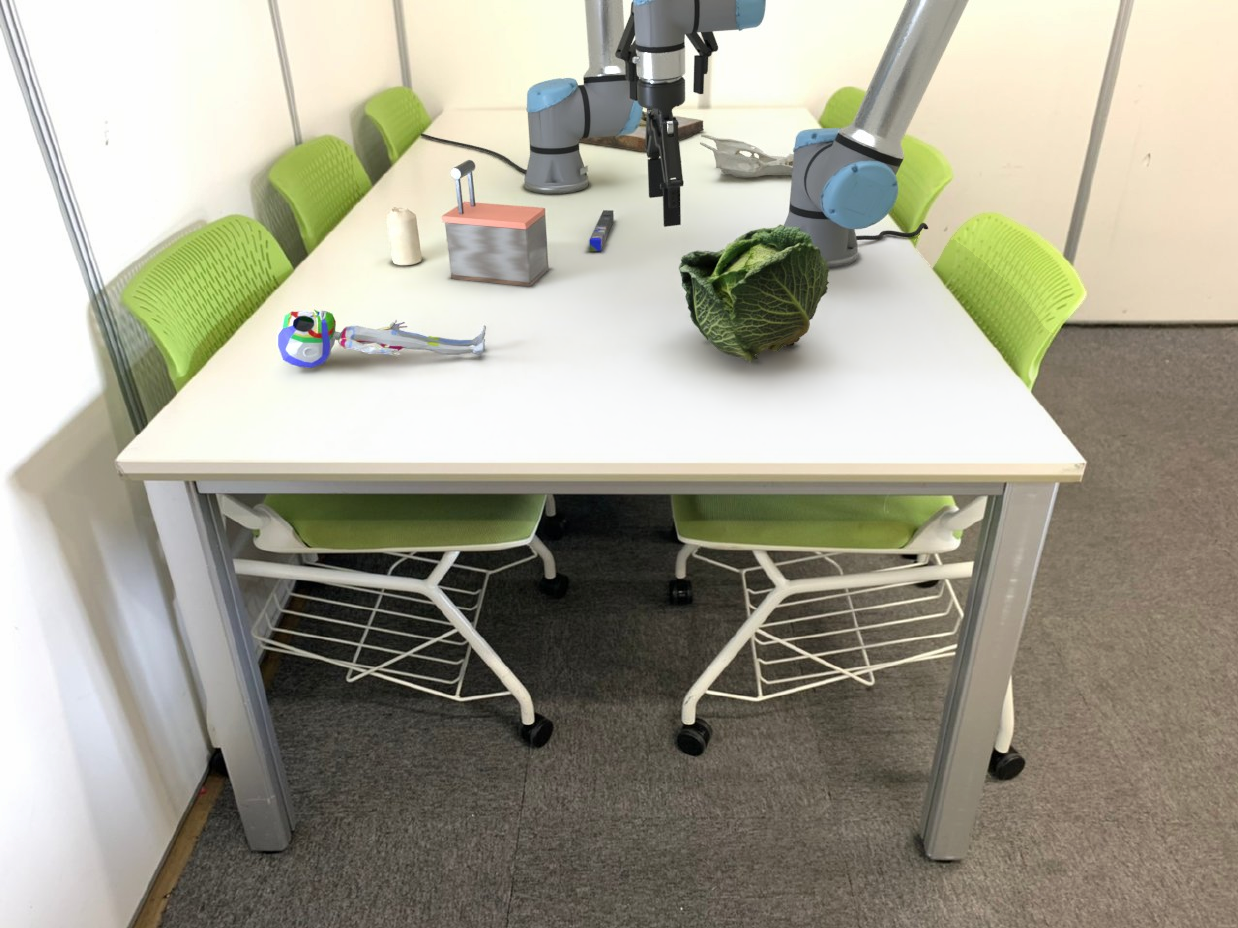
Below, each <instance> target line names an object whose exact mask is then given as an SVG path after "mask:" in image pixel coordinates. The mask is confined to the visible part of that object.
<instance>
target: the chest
mask: <svg viewBox="0 0 1238 928" xmlns="http://www.w3.org/2000/svg"><path fill="white" fill-rule="evenodd" d="M444 227H445V236H446V244H447V252H448V260H449V261H448V262H449V269H450V278H451V279H453V280H462V281H470V282H471V281H472V282H480V283H490V284H499V285H509V286H520V287H529V288H530V287H532V286H533V285H534V284H535V283H536V282H537V281H538V280H539V279H540V278H541V277H542V276H544V275H545V274H546V273H547V272H548V271H549V270H550V265H549V254H548V251H549V250H548V235H547V233H548V232H547V219H546V214H545V215H544V216H542V217H541V218H540V219H538V220H537V221H536V222H535V223H533V224H532V225H531V226H530V227H528V228H527V229H515V228H503V227H492V226H480V225H468V224H457V223H445V222H444Z"/></svg>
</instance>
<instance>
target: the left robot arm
mask: <svg viewBox="0 0 1238 928" xmlns="http://www.w3.org/2000/svg"><path fill="white" fill-rule="evenodd" d="M584 10H585V11H584V12H585V25H586V26H585V27H586V40H587V56H588V69H587V70H586V72H584V74H583V76H582V79H583V84H578V82H577V79H575V78H573V77H564V78H553V79H549V80H543V81H541V82H537V83H535V84H534V85H532V86H531V87H530V88H529V89H528V90H527V93H526V109H525V110H526V113H527V125H528V126H527V127H528V140H529V141H528V142H529V157H528V162H527V168H526V169H525V168H522V167H521V166H519V165H517V164H516V163H514V162H513V161H511V160H510V159H509V158H508V157H506V156H505V155H503V154H501V153H499V152H496V151H494V150H491V149H488V148H484V147H480V146H477V145H472V144H469V143H464V142H459V141H454V140H449V139H444V138H440V137H435V136H432V135H430V134H429V135H428V134H426V133H422V132H421V133H420V134H419V135H420V137H423V138H426V139H428V140H432V141H433V140H434V141H437V142H441V143H447V144H450V145H455V146H460V147H465V148H469V149H473V150H477V151H481V152H485V153H488V154H490V155H494V156H496V157H498V158H500V159H502V160H504V161H505V162H507V163H508V164H509V165H510V166H512V167H513V168H515V169H516V170H518V171H520V172H521V173H524V174H525V175H524V178H523V183H524V188H525V189H526V190H527V191H530V192H531V193H535V194H536V193H537V194H543V195H544V194H545V195H562V194H570V193H576V192H579V191H583V190H584V189H586V188H587V187H589V175H588V173H589V165H585V164H584V161H583V158H582V156H581V153H580V141H579V139H583V138H596V137H609V136H617V137H618V136H620V135H627V134H632V133H634V132H635V131H636V130H637V128H638V126H639V123H640V121H641V117H642V111H644V107H641V106H640V105H639V104H638V98H637V81H638V80H639V79H640V78H639V77H638V76H637V63H636V64H635V63H633V60H632V58H633V57H636V56H637V53H636V43H635V24H634V5H633V0H632V1H631V3H630V13H629V17H628V20H627V22H626V25H625V17H624V0H584ZM700 35H701V36H700ZM685 37H686V38H687V39H688V40H689V42H690V44H691V45H692V46H693V48H694V49H695V51H696V53H698V54H695V55H694V57H693V85H692V89H693V91H692V92H693V93H694V94H697V95H704V91H705V88H704V87H705V75H708V72H709V58H710V57H712V55H713V53H715V52H718V51H719V46H718V45H719V44H718V42H717V40H716V37H715V34H714V31H712V32H700V34H699V32H698V33H692V34H691V33H688V34H685Z"/></svg>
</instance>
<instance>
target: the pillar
mask: <svg viewBox="0 0 1238 928" xmlns="http://www.w3.org/2000/svg"><path fill="white" fill-rule="evenodd" d="M614 216H615V215H614V210H613V209H612V210H611V209H602V212H601V214H600V216H599V219H598V221H597V222H596V225H595V227H594V229H593V231H592V234H591V236H590V237H589V241H588V243H589V244H588V245H589V246H588V247H589V248H588V250H589V252H601V251H602V249H603V247H604V245H605V242H606V239H607V237H608V235H609V232H610V231H611V228H612V226H613V223H614Z"/></svg>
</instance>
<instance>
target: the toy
mask: <svg viewBox="0 0 1238 928" xmlns="http://www.w3.org/2000/svg"><path fill="white" fill-rule="evenodd" d="M336 321H337V320H336V319H335V317H334V314H333V313H331V312H329V311H327V310H322V309H321V310H320V311H318V310H316V309H313V311H307V310H300V311H290V312H288V313H287V314H285V315H284V317H283V320H282V321H281V325H280V327H279V329H278V331H277V333H276V347H277V349H278V350H279V353H280V356H281V358H282V360H283V361H284V362H286V363H288V364H290V365H292V366H297V367H300V368H307V369H313V368H315V367H317V366H320V365H322V364H324V363H325V362H326V361H327V359H328V358H329V357H330V355H331V353H332V348H334V345H335V342H336V341H337V342H338V344H339V347H341V348H343V349H348V350H354V351H358V352H363V353H364V354H367V355H368V354H369V355H378V354H385V355H391V356H395V357H398V358H400V355H402V354H401V353H400V351H401V350H403V349H404V350H405V349H406V350H417V351H418V350H421V351H422V350H423V351H429V352H433V353H437V354H440V355H444V356H448V355H449V356H451V355H452V356H454V355H455V356H456V355H465V354H474V355H476V356H479V357H482V355H483V353H484V351H485V347H486V346H485V345H486V339H485V336H486V329H487V326H486V325H483V327H482V331H481V333H480V334H478V335H477V336H476V337H474V338H473V339H455V338H445V337H440V336H429V335H428V336H427V335H424V334H420V333H417V332H416V333H415V332H410V331H405V330H401V329H403V328H408V326H407V325H403V324H405V323H406V322H405V321H402V322H399V323H397V322H398V320H397V319H395V320H394V321H393V322H391V323H390V325H389V326H386V327H381V328H377V329H376V328H370V327H364V326H359V325H349V326H345V327H344V328H343V329H342V330H341V332H340V331H336V326H337V325H336V323H337V322H336ZM370 344H376V345H379V346H380V347H378V346H373V345H370Z"/></svg>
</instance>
